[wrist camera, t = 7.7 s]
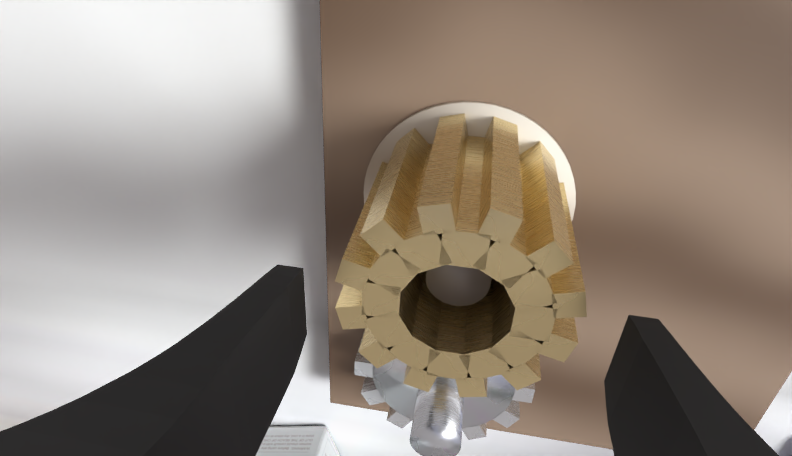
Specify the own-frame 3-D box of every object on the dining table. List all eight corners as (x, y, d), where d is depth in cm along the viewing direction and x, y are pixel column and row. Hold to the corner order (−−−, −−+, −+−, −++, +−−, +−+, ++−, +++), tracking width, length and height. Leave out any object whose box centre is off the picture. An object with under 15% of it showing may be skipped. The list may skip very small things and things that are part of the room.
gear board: (716, 436, 23) (770, 577, 18) (339, 375, 24) (301, 490, 20) (1000, -48, 13) (1276, -4, 8) (333, -92, 15) (256, -76, 10)
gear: (516, 419, 22) (519, 516, 19) (362, 394, 23) (338, 483, 19) (548, 298, 18) (558, 391, 15) (364, 273, 19) (335, 357, 16)
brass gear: (543, 288, 18) (556, 412, 14) (373, 265, 19) (336, 377, 14) (584, 125, 15) (616, 223, 11) (377, 104, 15) (333, 188, 11)
